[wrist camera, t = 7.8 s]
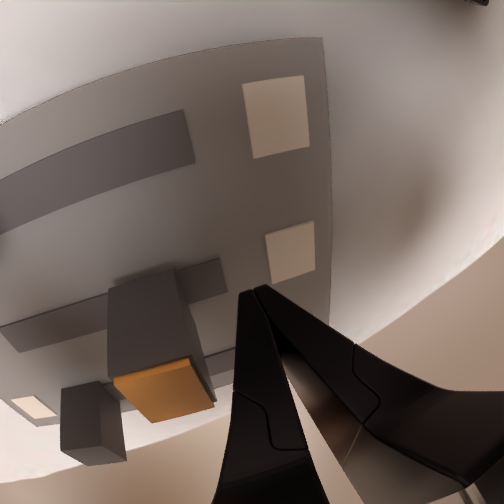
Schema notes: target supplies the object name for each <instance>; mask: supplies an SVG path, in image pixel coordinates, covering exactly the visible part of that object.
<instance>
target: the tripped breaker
mask: <svg viewBox="0 0 504 504" xmlns="http://www.w3.org/2000/svg"><path fill="white" fill-rule="evenodd" d="M107 374H108V378H109V379H110V380H111V381H112V382H113V383H114V386H115V387H116V388H117V389H118V390H119V391H120V392H121V393H122V394H123V395H124V396H125V397H126V398H127V399H128V401H129V402H130V403H131V404H132V405H133V406H134V407H135V408H136V409H137V410H139V411H140V412H141V413H142V414H143V415H144V416H145V417H146V418H147V419H148V420H149V421H150V422H151V423H156V422H160V421H164V420H169V419H173V418H177V417H180V416H184V415H188V414H192V413H196V412H199V411H203V410H206V409H210V408H213V407H214V403H213V402H217V399H216V396H215V392H214V389H213V385H212V382H211V378H210V375H209V371H208V368H207V364H206V361H205V357H204V354H203V350H202V346H201V342H200V339H199V335H198V331H197V327H196V323H195V321H194V318H193V316H192V314H191V311H190V309H189V306H188V304H187V301H186V299H185V297H184V294H183V292H182V289H181V287H180V284H179V282H178V279H177V276H176V274H175V271H174V269H173V268H172V269H169V270H166V271H163V272H159V273H156V274H153V275H150V276H147V277H144V278H140V279H137V280H134V281H131V282H128V283H125V284H121V285H118V286H115V287H112V288H109V289H108V309H107Z"/></svg>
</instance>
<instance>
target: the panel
mask: <svg viewBox="0 0 504 504" xmlns="http://www.w3.org/2000/svg"><path fill="white" fill-rule="evenodd" d="M331 250H332V187H331V151H330V129H329V112H328V97H327V84H326V72H325V61H324V51H323V42H322V38H291V39H279V40H269V41H260V42H252V43H245V44H238V45H232V46H225V47H220V48H214V49H209V50H204V51H199V52H194V53H189V54H185V55H181V56H176V57H172V58H168V59H164V60H160V61H157V62H153V63H149V64H146V65H142V66H139V67H136V68H133V69H129V70H126V71H123V72H120V73H117V74H114V75H111V76H108V77H105V78H102V79H100V80H97V81H94V82H92V83H89V84H86V85H84V86H81V87H79V88H76V89H74V90H71V91H69V92H67V93H64V94H62V95H60V96H57V97H55V98H53V99H51V100H48V101H46V102H44V103H42V104H40V105H38V106H36V107H34V108H32V109H30V110H28V111H26V112H24V113H22V114H20V115H18V116H16V117H14V118H12V119H10V120H9V121H7V122H5V123H3V124H1V125H0V399H2V400H3V401H4V402H5V403H6V404H8V405H9V406H10V407H11V408H13V409H14V410H15V411H16V412H18V413H19V414H20V415H22V416H23V417H24V418H26V419H27V420H28V421H30V422H31V423H32V424H34V425H35V426H37V427H38V426H47V425H54V424H60V449H61V451H62V452H63V453H65V454H67V455H69V456H70V457H72V458H74V459H76V460H77V461H79V462H81V463H83V464H85V465H87V466H93V465H102V464H110V463H117V462H123V461H127V458H126V451H125V444H124V436H123V428H122V418H121V413H122V412H127V411H132V410H136V408H135V407H134V406H133V405H132V404H131V403H130V402H129V401H128V399H127V398H126V397H125V396H124V395H123V394H122V393H121V392H120V391H119V390H118V389H117V388H116V387H115V386H114V383H113V382H112V381H111V380H110V379H109V378H108V374H107V309H108V289H109V288H112V287H115V286H118V285H121V284H125V283H128V282H131V281H134V280H137V279H140V278H144V277H147V276H150V275H153V274H156V273H159V272H163V271H166V270H169V269H172V268H173V269H174V271H175V274H176V276H177V279H178V282H179V284H180V287H181V289H182V292H183V294H184V297H185V299H186V301H187V304H188V306H189V309H190V311H191V314H192V316H193V318H194V321H195V323H196V327H197V331H198V335H199V339H200V342H201V346H202V350H203V354H204V357H205V361H206V364H207V368H208V371H209V375H210V378H211V382H212V385H213V389H215V388H219V387H222V386H225V385H228V384H231V383H233V380H234V361H235V343H236V326H237V309H238V295H239V293H240V292H243V291H245V290H248V289H252V290H253V289H254V288H255V287H257V286H260V285H263V284H267V285H269V286H270V287H272V288H273V289H275V290H276V291H278V292H279V293H281V294H282V295H284V296H285V297H287V298H288V299H290V300H291V301H293V302H294V303H296V304H297V305H299V306H300V307H302V308H303V309H305V310H306V311H308V312H309V313H311V314H312V315H314V316H315V317H317V318H318V319H320V320H321V321H323V322H324V323H326V324H327V325H329V308H330V286H331Z"/></svg>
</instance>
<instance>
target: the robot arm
mask: <svg viewBox="0 0 504 504" xmlns="http://www.w3.org/2000/svg"><path fill="white" fill-rule="evenodd" d="M465 1H468V2H471V3H473V4H476V5H482V6H487V5H488V3H489V0H465ZM285 373H286V374H285ZM286 375H287V377H288V379H289V380H290V382H291V384H292V385H293V387H294V389H295V391H296V392H297V394H298V396H299V397H300V399H301V401H302V402H303V404H304V406H305V408H306V409H307V411H308V413H309V414H310V416H311V418H312V419H313V421H314V423H315V424H316V426H317V428H318V429H319V431H320V433H321V434H322V436H323V438H324V439H325V441H326V443H327V444H328V446H329V448H330V449H331V451H332V452H333V454H334V456H335V457H336V459H337V461H338V462H339V464H340V466H341V467H343V468H342V469H343V471H344V472H345V474H346V475H347V477H348V478H349V480H350V482H351V483H352V485H353V487H354V488H355V490H356V491H357V493H358V494H359V496H360V498H361V499H362V501H363V502H364V504H504V391H454V390H447V389H443V388H440V387H437V386H435V385H433V384H431V383H428V382H426V381H424V380H422V379H420V378H418V377H415V376H414V375H411V374H409V373H407V372H405V371H403V370H400V369H399V368H397V367H395V366H393V365H391V364H389V363H387V362H385V361H383V360H382V359H380V358H378V357H377V356H375V355H373V354H372V353H370V352H368V351H366V350H365V349H364V348H362V347H360V346H359V345H358V344H354V342H353V341H351V340H350V339H348V338H347V337H345V336H344V335H342V334H341V333H339V332H338V331H336V330H335V329H333V328H332V327H330V326H329V325H327V324H326V323H324V322H323V321H321V320H320V319H318V318H317V317H315V316H314V315H312V314H311V313H309V312H308V311H306V310H305V309H303V308H302V307H300V306H299V305H297V304H296V303H294V302H293V301H291V300H290V299H288V298H287V297H285V296H284V295H282V294H281V293H279V292H278V291H276V290H275V289H273V288H272V287H270V286H269V285H267V284H263V285H260V286H257V287H255V288H254V289H253V290H252V289H248V290H245V291H243V292H240V293H239V295H238V309H237V326H236V343H235V361H234V380H233V395H232V410H231V421H230V427H229V433H228V439H227V444H226V449H225V453H224V458H223V463H222V468H221V472H220V477H219V481H218V485H217V489H216V492H215V495H214V498H213V501H212V503H211V504H330V503H329V501H328V498H327V496H326V494H325V491H324V489H323V486H322V484H321V481H320V479H319V477H318V474H317V472H316V469H315V466H314V463H313V460H312V457H311V454H310V451H309V450H308V445H307V442H306V438H305V435H304V432H303V429H302V426H301V423H300V419H299V416H298V412H297V409H296V406H295V403H294V400H293V396H292V393H291V390H290V387H289V383H288V380H287V377H286Z"/></svg>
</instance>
